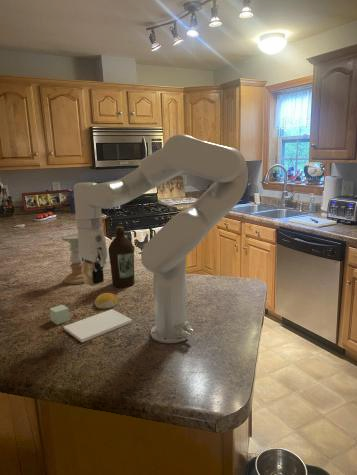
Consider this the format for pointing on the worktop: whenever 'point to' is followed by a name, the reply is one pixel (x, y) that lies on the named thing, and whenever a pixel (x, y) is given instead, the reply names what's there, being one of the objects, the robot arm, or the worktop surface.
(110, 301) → the bread roll
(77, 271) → the candle holder
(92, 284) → the maple block
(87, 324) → the ceramic tile
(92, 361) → the worktop surface
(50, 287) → the worktop surface
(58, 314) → the sage cube
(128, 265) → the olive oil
